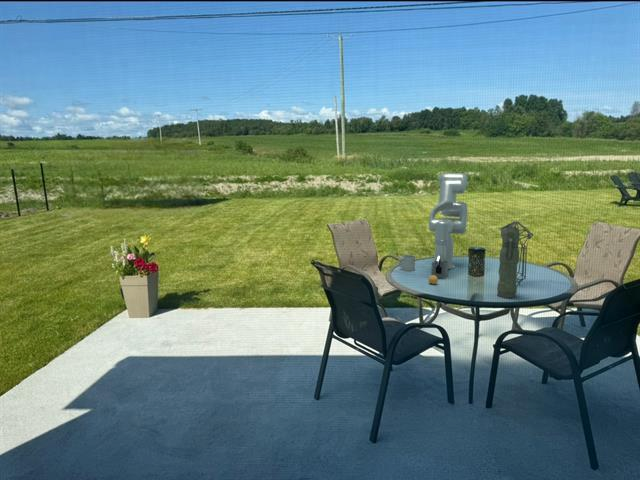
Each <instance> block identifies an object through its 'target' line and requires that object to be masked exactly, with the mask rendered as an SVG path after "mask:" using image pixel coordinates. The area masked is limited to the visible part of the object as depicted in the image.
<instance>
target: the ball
mask: <svg viewBox="0 0 640 480" xmlns="http://www.w3.org/2000/svg"><path fill="white" fill-rule="evenodd" d="M431 275H432V274H431ZM431 275H430V276H429V277H428V283H429V284H431V285H436V284H437V283H438V282H439V278H437V277H436V276H435V275H432V276H431Z"/></svg>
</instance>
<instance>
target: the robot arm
mask: <svg viewBox="0 0 640 480" xmlns="http://www.w3.org/2000/svg"><path fill="white" fill-rule="evenodd" d="M438 183H439V184H438V185H439V189H440V190H439V198H438V203H437V204H436V205H435V206H434V207H433V208H432V209H431V211H430V214H429V221H428V229H429V231H431V232H434V245H435V249H434V256H433V257H434V259H433V261H434V262H436V261H437V262H436V273H438V274H441V269H442V267H441V264H442V262H444V261H448V270H453V269H455V267H456V266H455V265H454V264H453V258H454V257H453V256H454V245H455V244H454V243H455V242H454V238H453V237H452V235H451V234H453V235H454V234H455V235H457V234H458V235H460V234H461V235H463V234H464V235H465V233H466V230H467V223H468V204H467V203H466V202H464V201H456V200H457V194H464V193H465V191H466V190H467V185H468V175H467V174H466V173H464V172H463V173H462V172H443V173H441V174H439V175H438ZM439 212H441V213H440V214H441V215H442V216H444V217H442V218H438V219H437V218H435V217H436V215H437V214H438V213H439ZM440 261H441V262H440Z"/></svg>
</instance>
